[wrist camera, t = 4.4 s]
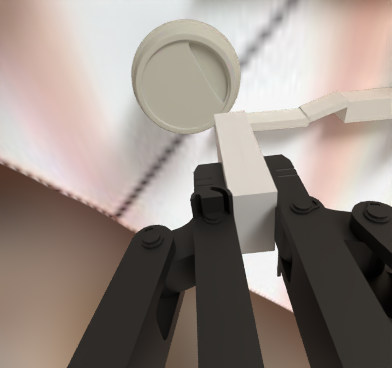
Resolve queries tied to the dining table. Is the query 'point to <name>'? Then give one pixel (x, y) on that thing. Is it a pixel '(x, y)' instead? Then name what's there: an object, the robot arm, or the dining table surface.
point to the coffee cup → (185, 76)
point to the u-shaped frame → (329, 110)
